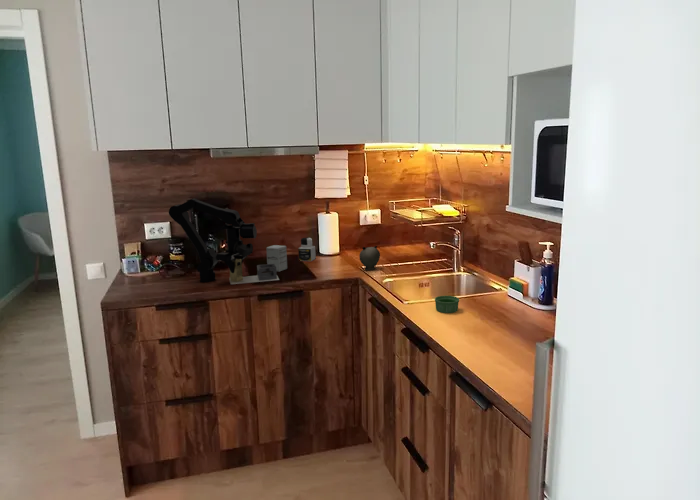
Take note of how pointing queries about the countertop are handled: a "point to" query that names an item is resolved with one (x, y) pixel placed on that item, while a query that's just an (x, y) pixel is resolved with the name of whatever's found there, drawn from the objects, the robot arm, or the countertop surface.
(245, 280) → the white board
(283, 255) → the supplement box
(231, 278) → the beige tall block
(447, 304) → the ramekin
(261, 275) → the collar stand
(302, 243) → the medicine bottle
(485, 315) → the countertop surface
